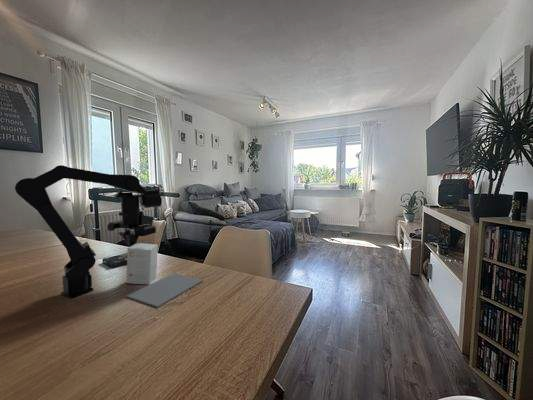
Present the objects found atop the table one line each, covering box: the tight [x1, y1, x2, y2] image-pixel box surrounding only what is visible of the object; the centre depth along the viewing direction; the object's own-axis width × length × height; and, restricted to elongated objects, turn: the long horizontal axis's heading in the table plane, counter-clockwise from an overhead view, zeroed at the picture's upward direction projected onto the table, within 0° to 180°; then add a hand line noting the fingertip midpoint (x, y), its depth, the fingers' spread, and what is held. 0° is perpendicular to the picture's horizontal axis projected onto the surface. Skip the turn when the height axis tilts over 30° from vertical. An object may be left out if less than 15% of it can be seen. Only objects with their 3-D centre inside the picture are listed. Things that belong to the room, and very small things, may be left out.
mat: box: [125, 272, 204, 309], centre depth 80 cm, size 20×14×1 cm
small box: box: [126, 242, 159, 286], centre depth 85 cm, size 8×6×13 cm
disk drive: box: [101, 252, 127, 269], centre depth 106 cm, size 10×3×15 cm
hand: (132, 250), depth 87 cm, fingers closed
